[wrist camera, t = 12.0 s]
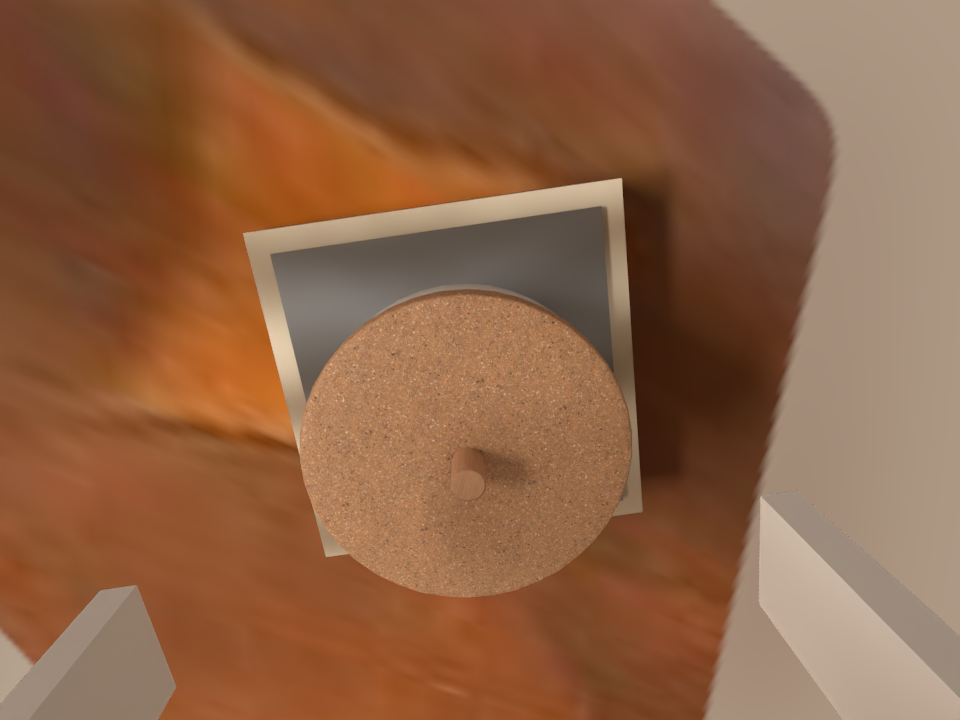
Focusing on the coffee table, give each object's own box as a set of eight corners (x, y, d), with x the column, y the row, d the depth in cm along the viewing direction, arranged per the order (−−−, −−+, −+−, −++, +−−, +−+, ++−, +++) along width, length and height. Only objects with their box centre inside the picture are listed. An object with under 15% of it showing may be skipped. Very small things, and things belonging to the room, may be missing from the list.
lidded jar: (618, 306, 24) (711, 372, 15) (535, 512, 27) (573, 668, 18) (382, 228, 23) (333, 250, 14) (320, 452, 26) (246, 589, 17)
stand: (266, 228, 26) (240, 233, 23) (603, 180, 26) (623, 177, 23) (338, 523, 31) (324, 560, 28) (625, 482, 31) (644, 515, 28)
